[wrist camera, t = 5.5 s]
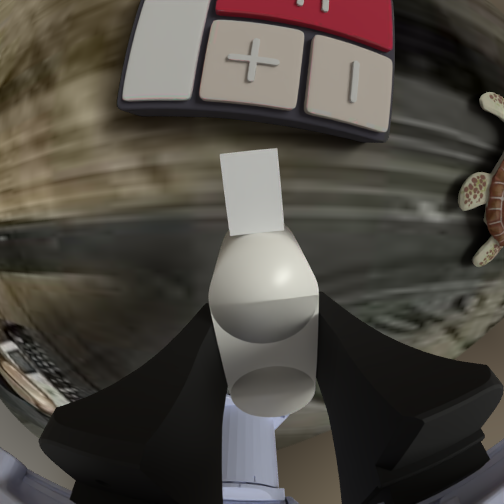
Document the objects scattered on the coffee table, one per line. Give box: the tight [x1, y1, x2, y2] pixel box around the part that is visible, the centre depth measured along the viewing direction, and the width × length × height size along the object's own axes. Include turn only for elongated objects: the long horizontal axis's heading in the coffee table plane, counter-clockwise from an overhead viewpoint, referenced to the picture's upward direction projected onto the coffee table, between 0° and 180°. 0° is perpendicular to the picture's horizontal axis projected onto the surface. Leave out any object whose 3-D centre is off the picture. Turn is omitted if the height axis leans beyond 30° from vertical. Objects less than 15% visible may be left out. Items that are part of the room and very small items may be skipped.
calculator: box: [117, 0, 395, 143], centre depth 12 cm, size 11×4×15 cm
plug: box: [209, 148, 319, 417], centre depth 9 cm, size 9×3×4 cm, turn 6°
